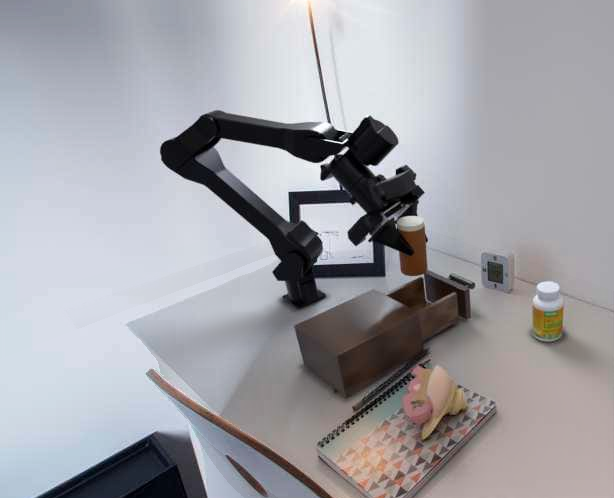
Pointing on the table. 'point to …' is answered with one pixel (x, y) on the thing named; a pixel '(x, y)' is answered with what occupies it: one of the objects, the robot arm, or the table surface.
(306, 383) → the table surface
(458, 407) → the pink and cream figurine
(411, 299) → the drawer
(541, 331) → the supplement bottle
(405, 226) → the pill bottle
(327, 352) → the cabinet
